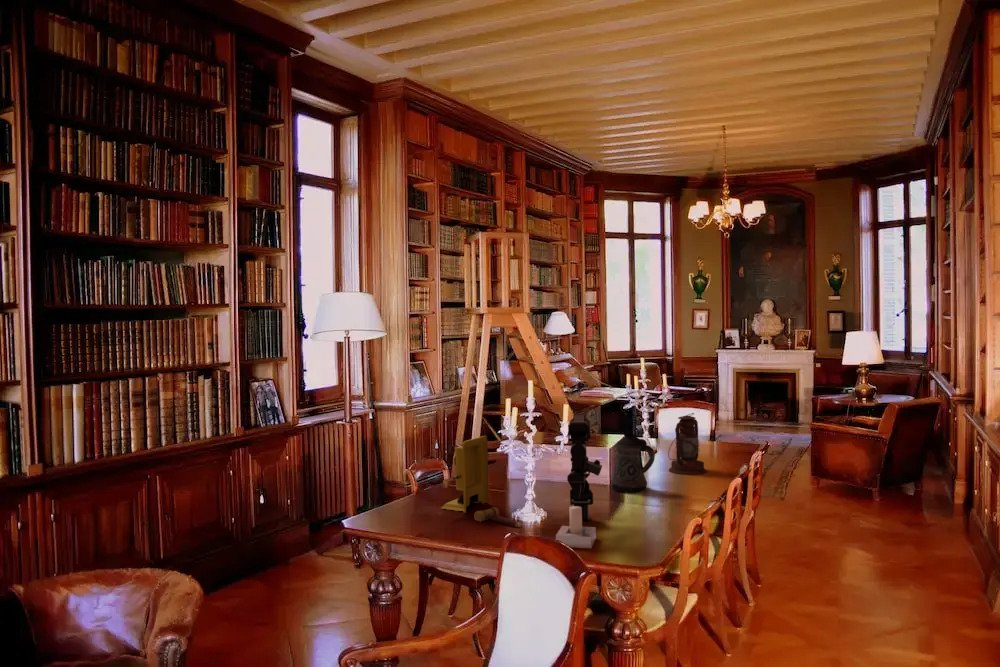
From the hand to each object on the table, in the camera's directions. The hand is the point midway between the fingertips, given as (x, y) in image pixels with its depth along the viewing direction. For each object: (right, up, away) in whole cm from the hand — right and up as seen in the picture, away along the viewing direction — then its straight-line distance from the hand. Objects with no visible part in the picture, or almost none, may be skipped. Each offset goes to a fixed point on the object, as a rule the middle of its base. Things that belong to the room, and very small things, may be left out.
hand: (579, 495), depth 296 cm
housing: (-3, -14, -15) cm, 21 cm away
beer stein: (+31, -11, +66) cm, 73 cm away
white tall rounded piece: (-3, -14, -15) cm, 21 cm away
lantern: (+65, -9, +102) cm, 122 cm away
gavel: (-30, -14, +13) cm, 35 cm away
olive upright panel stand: (-45, -13, +40) cm, 62 cm away
